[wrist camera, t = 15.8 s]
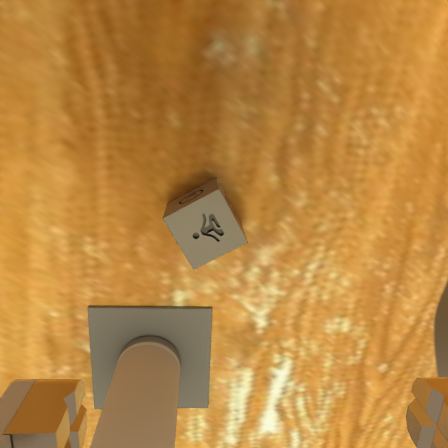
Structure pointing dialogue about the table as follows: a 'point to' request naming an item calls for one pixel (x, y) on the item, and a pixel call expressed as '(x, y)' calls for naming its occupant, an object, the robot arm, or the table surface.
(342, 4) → the table surface
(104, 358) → the mat
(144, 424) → the travel mug
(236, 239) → the dice cube
